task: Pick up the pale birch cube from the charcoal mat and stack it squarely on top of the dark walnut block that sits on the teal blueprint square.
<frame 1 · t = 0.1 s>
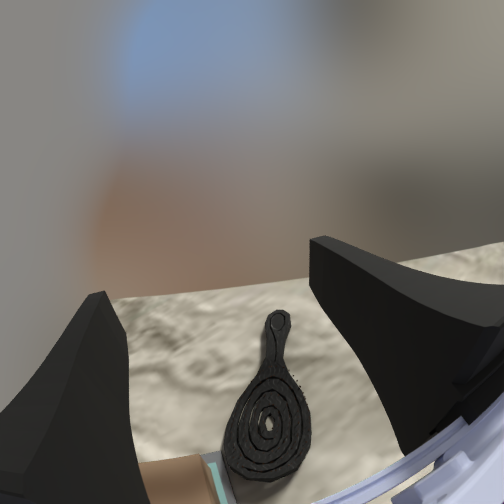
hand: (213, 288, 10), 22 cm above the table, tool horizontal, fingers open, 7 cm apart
walnut block: (188, 498, 18), point 1 cm above the table, touching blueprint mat
hairbrush: (274, 386, 31), on the table
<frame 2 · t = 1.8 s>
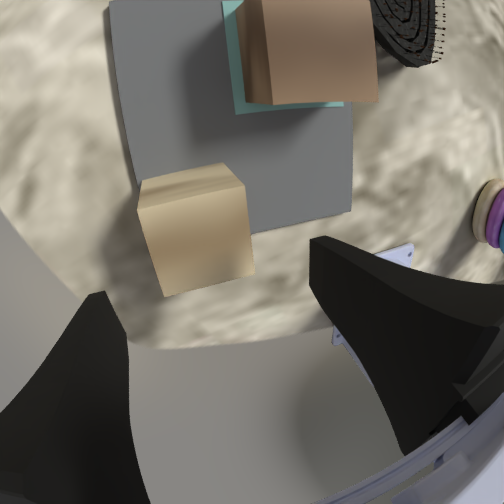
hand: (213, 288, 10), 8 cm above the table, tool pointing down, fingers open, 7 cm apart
birch block: (189, 208, 16), resting on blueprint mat
walnut block: (288, 52, 13), point 1 cm above the table, touching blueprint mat
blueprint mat: (246, 107, 15), on the table
stacking toy: (485, 207, 26), on the table
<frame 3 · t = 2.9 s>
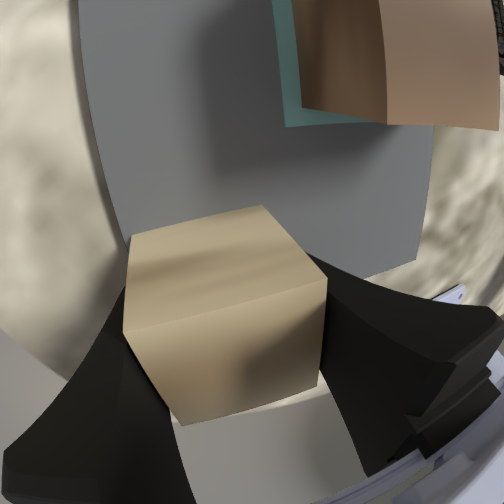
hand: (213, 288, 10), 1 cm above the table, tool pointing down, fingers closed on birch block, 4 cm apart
birch block: (208, 274, 11), resting on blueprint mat, touching gripper
walnut block: (364, 36, 8), point 1 cm above the table, touching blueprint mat
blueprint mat: (299, 114, 9), on the table
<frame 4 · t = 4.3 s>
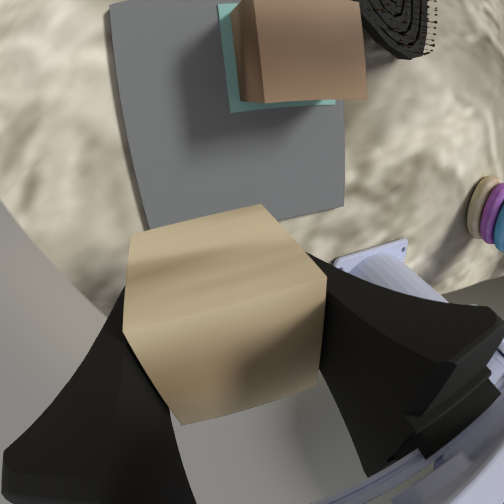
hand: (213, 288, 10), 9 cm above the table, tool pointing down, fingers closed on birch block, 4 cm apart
birch block: (208, 273, 11), point 8 cm above the table, touching gripper
walnut block: (281, 53, 14), point 1 cm above the table, touching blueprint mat
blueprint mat: (241, 105, 15), on the table
stacking toy: (479, 203, 27), on the table
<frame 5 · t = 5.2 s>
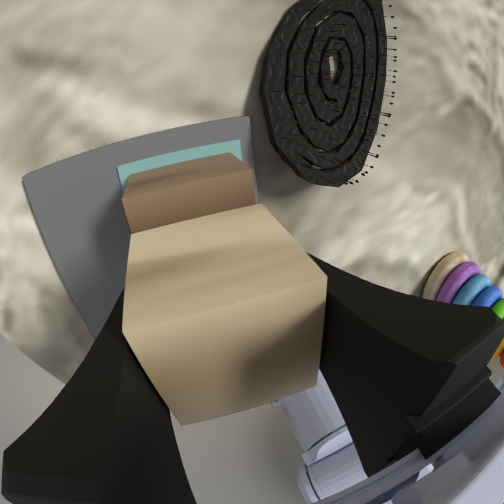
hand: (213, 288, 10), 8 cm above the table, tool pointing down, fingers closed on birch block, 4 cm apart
birch block: (208, 273, 11), point 7 cm above the table, touching gripper
walnut block: (189, 208, 16), point 1 cm above the table, touching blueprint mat
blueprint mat: (158, 259, 18), on the table
hairbrush: (344, 2, 13), on the table
stacking toy: (440, 277, 29), on the table
when the fingers open (7 cm above the table, at t = 5.8 s): birch block drops 1 cm, resting on walnut block.
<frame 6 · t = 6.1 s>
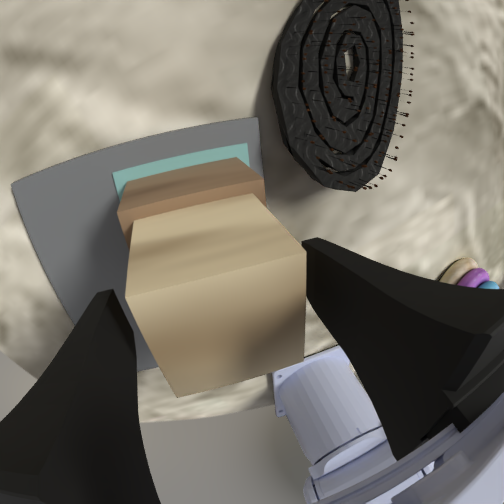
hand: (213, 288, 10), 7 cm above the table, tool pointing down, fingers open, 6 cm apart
birch block: (204, 257, 11), point 5 cm above the table, touching walnut block
walnut block: (191, 218, 15), point 1 cm above the table, touching birch block, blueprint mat
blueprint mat: (159, 272, 16), on the table
stacking toy: (448, 284, 28), on the table
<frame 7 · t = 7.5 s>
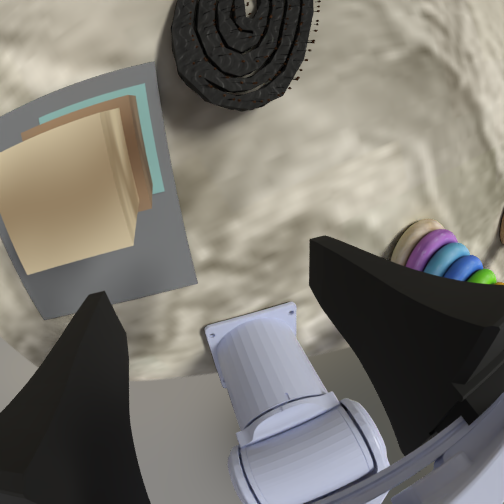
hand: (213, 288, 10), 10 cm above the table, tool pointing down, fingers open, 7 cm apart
birch block: (83, 168, 11), point 5 cm above the table, touching walnut block
walnut block: (99, 153, 14), point 1 cm above the table, touching birch block, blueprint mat
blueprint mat: (77, 207, 16), on the table
stacking toy: (412, 249, 28), on the table
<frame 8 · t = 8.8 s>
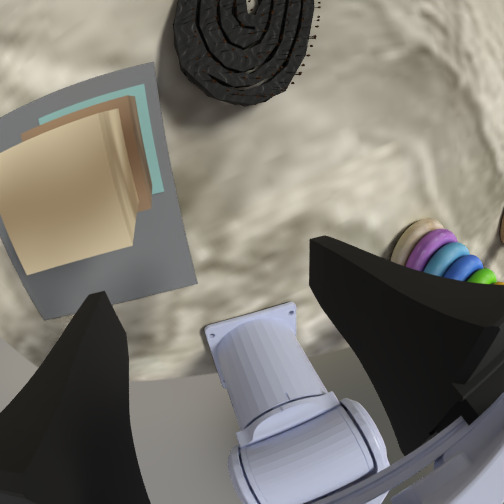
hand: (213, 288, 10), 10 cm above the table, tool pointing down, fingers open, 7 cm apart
birch block: (82, 169, 11), point 5 cm above the table, touching walnut block
walnut block: (98, 153, 14), point 1 cm above the table, touching birch block, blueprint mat
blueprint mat: (77, 208, 16), on the table
stacking toy: (412, 249, 28), on the table
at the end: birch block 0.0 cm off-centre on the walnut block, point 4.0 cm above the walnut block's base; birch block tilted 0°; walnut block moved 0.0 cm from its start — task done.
